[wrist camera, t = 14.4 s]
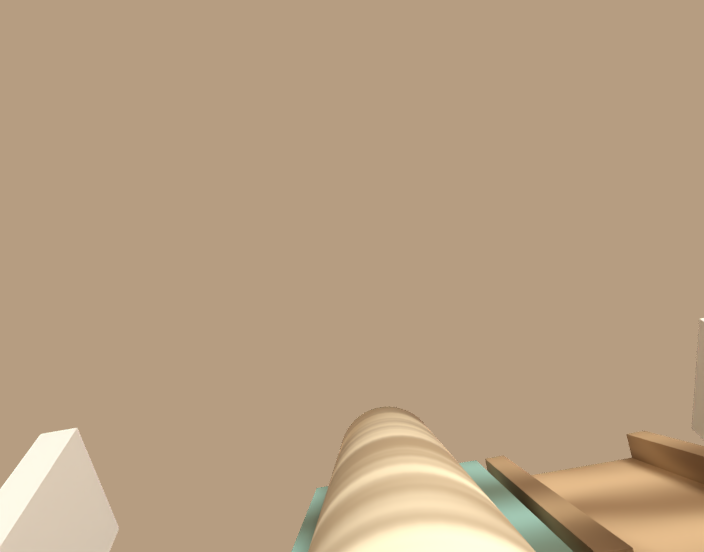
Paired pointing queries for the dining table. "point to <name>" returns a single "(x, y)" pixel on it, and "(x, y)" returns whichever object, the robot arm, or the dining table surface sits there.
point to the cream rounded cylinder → (406, 495)
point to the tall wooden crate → (593, 500)
